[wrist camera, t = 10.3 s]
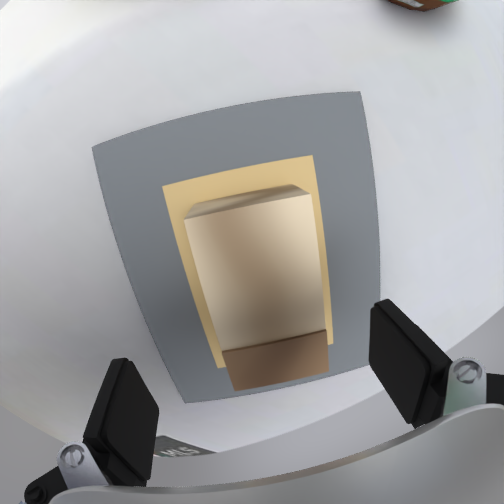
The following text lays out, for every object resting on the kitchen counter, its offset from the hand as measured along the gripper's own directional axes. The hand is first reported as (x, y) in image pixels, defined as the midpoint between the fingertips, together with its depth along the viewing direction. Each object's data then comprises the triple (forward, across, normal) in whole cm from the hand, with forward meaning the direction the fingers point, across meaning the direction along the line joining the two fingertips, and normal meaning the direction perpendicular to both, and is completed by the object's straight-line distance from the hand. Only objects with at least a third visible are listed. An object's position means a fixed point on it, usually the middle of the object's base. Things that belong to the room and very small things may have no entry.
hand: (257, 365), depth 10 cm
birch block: (+8, -1, 0) cm, 8 cm away
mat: (+8, -1, 0) cm, 8 cm away
